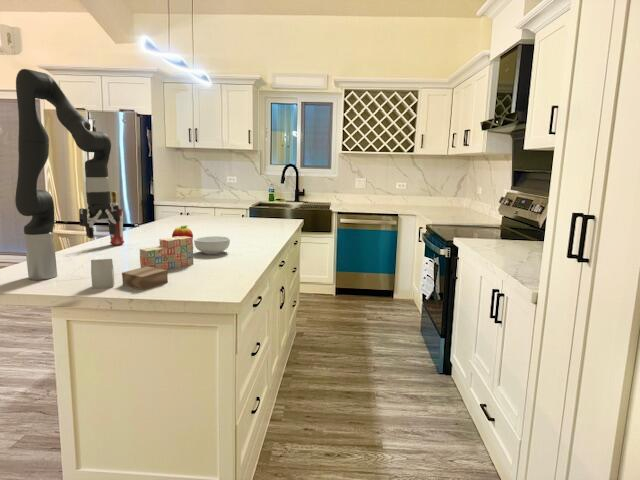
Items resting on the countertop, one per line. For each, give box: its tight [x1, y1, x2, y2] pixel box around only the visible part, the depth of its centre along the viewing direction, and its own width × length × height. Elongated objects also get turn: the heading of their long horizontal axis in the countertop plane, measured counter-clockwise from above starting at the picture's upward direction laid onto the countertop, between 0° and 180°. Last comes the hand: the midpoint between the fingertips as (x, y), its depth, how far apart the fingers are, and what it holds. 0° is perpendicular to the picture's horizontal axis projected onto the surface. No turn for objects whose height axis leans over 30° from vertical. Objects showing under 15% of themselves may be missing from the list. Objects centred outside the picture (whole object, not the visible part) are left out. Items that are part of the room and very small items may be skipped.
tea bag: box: [90, 258, 115, 289], centre depth 156 cm, size 4×7×10 cm, turn 108°
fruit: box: [171, 225, 194, 239], centre depth 233 cm, size 11×11×10 cm
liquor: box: [108, 191, 125, 246], centre depth 227 cm, size 7×7×28 cm
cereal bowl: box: [193, 235, 231, 255], centre depth 214 cm, size 17×17×7 cm
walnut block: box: [121, 266, 169, 291], centre depth 160 cm, size 11×11×5 cm
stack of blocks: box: [139, 236, 194, 271], centre depth 184 cm, size 21×6×12 cm, turn 140°
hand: (101, 236), depth 154 cm, fingers open, 8 cm apart
